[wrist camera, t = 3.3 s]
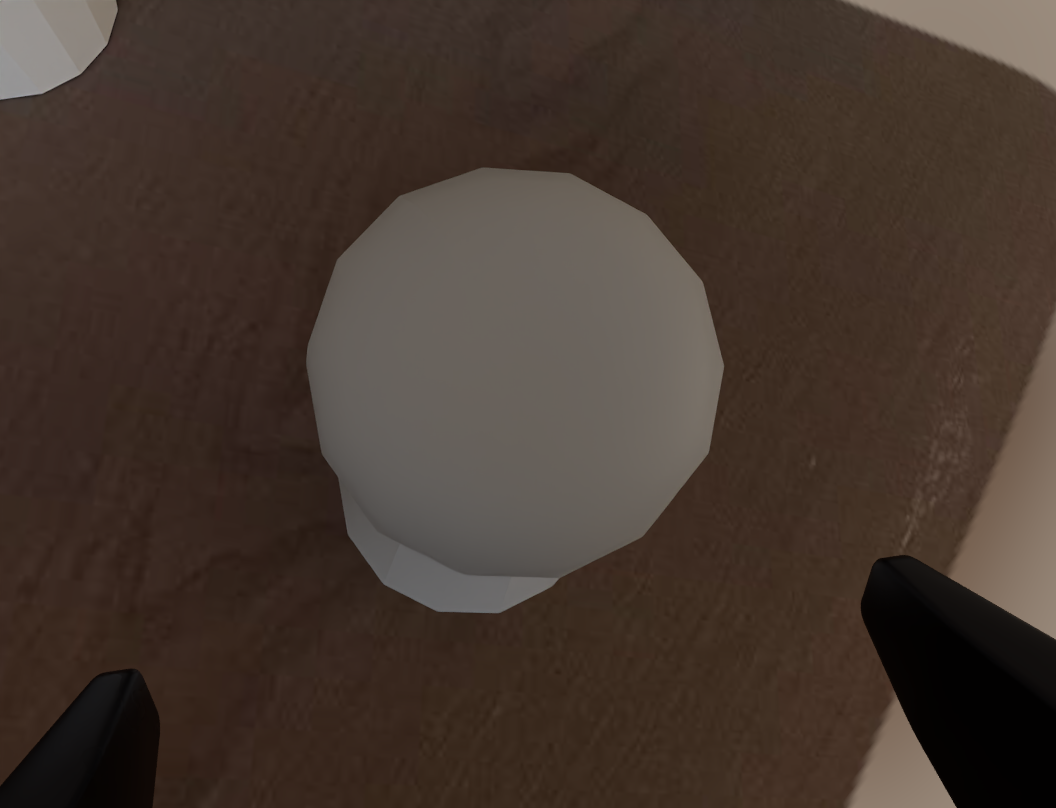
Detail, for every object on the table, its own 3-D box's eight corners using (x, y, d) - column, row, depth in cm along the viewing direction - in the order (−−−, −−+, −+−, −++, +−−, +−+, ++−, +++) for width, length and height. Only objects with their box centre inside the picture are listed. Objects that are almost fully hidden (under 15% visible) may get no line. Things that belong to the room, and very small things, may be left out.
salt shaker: (581, 386, 21) (816, 90, 8) (581, 610, 19) (858, 668, 7) (356, 375, 20) (234, 35, 7) (341, 606, 19) (163, 666, 6)
